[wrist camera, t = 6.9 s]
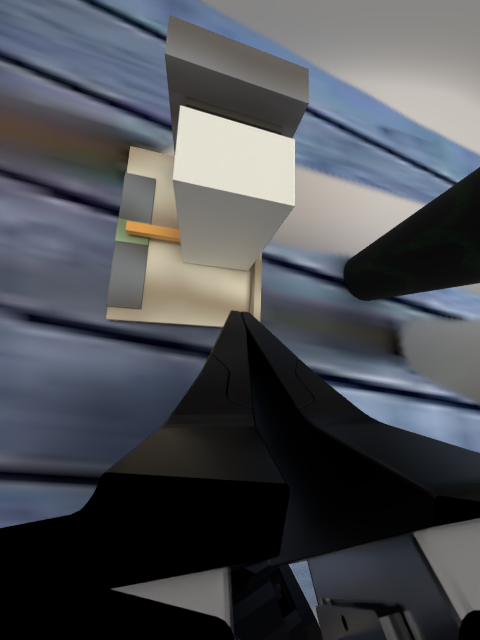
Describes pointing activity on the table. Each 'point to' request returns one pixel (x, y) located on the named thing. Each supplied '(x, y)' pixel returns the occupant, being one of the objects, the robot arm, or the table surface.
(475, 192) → the cup
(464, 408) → the table surface
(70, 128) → the table surface
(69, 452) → the table surface
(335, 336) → the table surface
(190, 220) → the gauge slider
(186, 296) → the frame
